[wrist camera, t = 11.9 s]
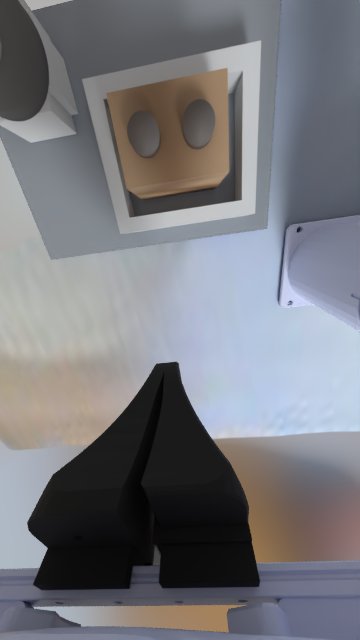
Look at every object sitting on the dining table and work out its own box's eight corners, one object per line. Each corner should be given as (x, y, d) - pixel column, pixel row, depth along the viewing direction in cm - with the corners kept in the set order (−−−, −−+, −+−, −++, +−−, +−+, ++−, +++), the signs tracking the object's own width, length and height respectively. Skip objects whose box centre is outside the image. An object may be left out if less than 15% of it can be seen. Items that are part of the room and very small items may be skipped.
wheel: (59, 29, 12) (-20, -96, 7) (86, 135, 14) (40, 90, 9) (-15, 47, 12) (-134, -62, 8) (23, 147, 14) (-51, 110, 10)
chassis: (276, -30, 11) (312, -132, 8) (262, 228, 17) (280, 228, 14) (-29, 43, 13) (-99, -18, 10) (57, 258, 19) (31, 264, 16)
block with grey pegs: (212, 121, 13) (231, 53, 8) (215, 188, 15) (232, 167, 10) (131, 137, 14) (99, 81, 9) (143, 200, 16) (122, 185, 10)
